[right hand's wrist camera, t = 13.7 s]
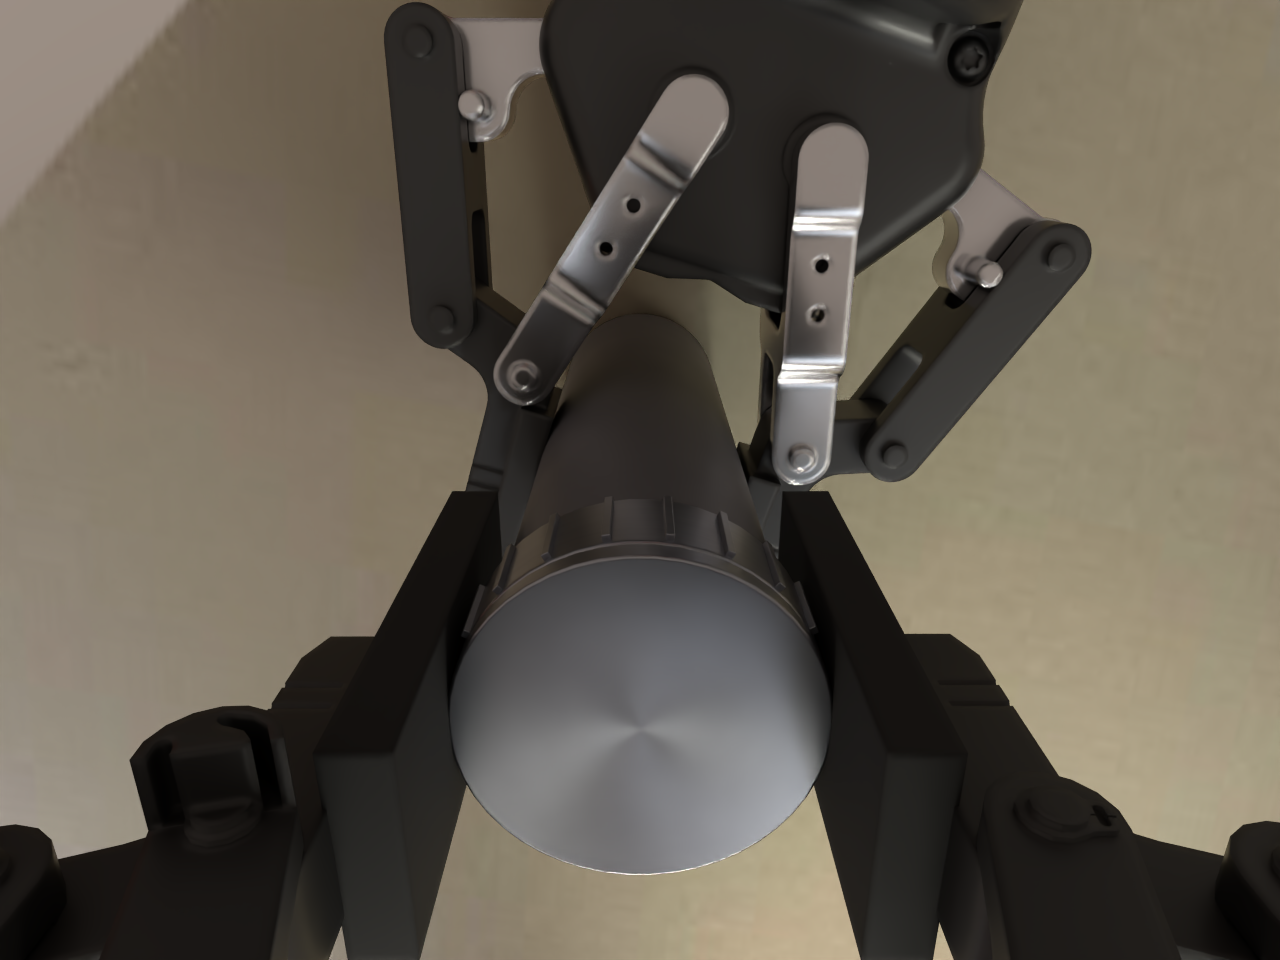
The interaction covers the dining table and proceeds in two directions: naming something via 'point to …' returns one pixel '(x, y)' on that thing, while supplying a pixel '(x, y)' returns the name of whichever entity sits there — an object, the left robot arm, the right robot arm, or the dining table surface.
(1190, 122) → the dining table surface
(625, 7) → the left robot arm
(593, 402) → the jar
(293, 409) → the dining table surface
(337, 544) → the dining table surface
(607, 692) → the lid
